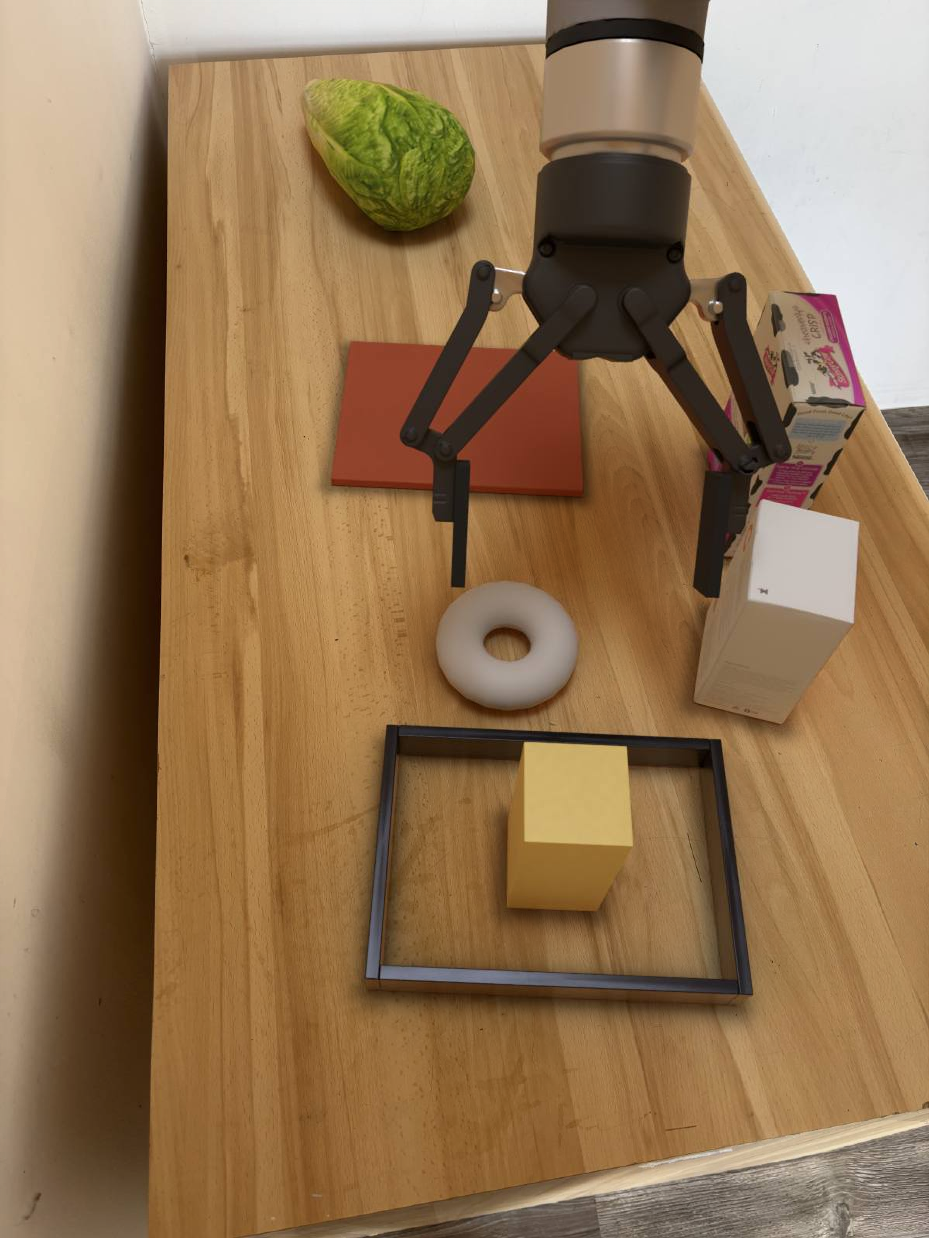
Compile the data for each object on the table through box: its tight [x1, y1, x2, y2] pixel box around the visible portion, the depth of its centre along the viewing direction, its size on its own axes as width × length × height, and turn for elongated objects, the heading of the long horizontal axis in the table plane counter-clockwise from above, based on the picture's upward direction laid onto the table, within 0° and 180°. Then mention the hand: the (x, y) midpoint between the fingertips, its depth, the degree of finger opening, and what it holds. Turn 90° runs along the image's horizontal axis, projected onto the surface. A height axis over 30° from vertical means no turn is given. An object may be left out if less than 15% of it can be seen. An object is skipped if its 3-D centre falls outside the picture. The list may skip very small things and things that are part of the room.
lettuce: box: [299, 78, 476, 232], centre depth 92 cm, size 12×24×13 cm
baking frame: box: [364, 723, 754, 1006], centre depth 57 cm, size 22×16×3 cm
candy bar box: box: [707, 290, 868, 559], centre depth 68 cm, size 11×5×16 cm, turn 178°
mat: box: [330, 340, 584, 498], centre depth 78 cm, size 20×16×1 cm
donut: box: [434, 580, 580, 711], centre depth 65 cm, size 10×4×10 cm
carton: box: [506, 742, 634, 912], centre depth 53 cm, size 6×6×12 cm
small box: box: [693, 499, 861, 725], centre depth 61 cm, size 8×6×13 cm
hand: (582, 588), depth 51 cm, fingers open, 13 cm apart
